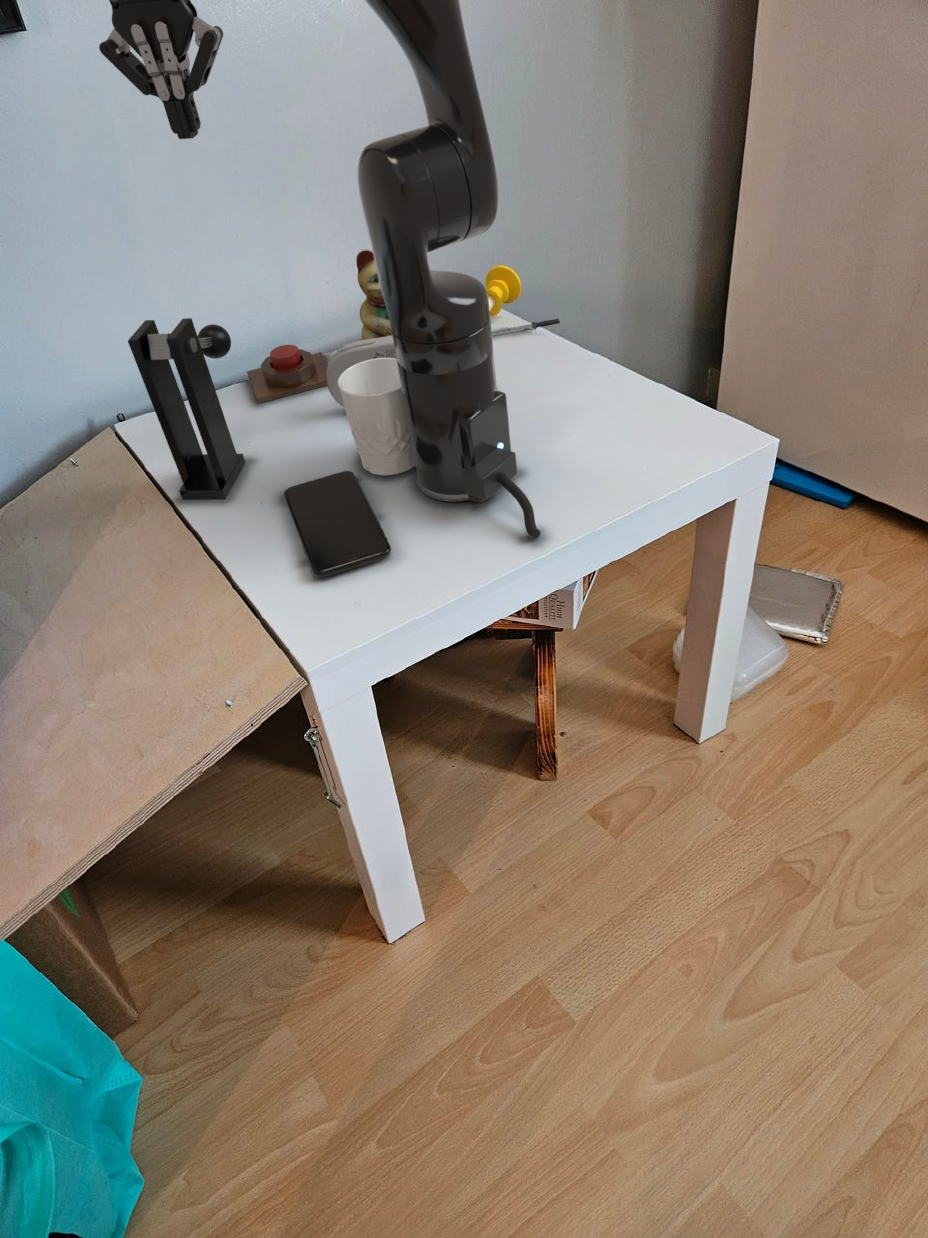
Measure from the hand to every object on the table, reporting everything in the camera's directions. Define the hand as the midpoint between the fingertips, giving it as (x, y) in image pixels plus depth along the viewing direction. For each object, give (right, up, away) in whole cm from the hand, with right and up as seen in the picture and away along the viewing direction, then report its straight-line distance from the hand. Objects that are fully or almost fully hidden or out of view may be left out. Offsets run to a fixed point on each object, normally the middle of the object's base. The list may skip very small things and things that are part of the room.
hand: (189, 136), depth 96 cm
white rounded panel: (+23, -25, +12) cm, 36 cm away
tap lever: (+1, -24, -1) cm, 24 cm away
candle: (+35, -5, +27) cm, 45 cm away
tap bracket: (+2, -36, +4) cm, 36 cm away
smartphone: (+16, -42, -5) cm, 45 cm away
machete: (+34, -16, +21) cm, 43 cm away
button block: (+7, -21, +19) cm, 29 cm away
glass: (+21, -34, +3) cm, 40 cm away
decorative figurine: (+21, -17, +21) cm, 34 cm away
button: (+7, -19, +18) cm, 27 cm away
